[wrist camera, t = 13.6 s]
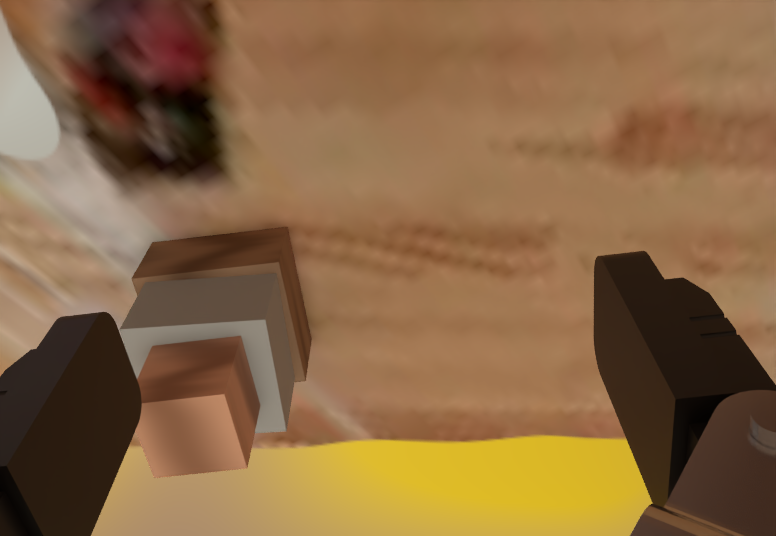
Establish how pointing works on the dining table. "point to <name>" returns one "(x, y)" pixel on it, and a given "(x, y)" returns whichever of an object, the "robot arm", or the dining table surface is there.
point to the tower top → (220, 330)
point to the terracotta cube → (197, 407)
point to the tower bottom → (237, 273)
